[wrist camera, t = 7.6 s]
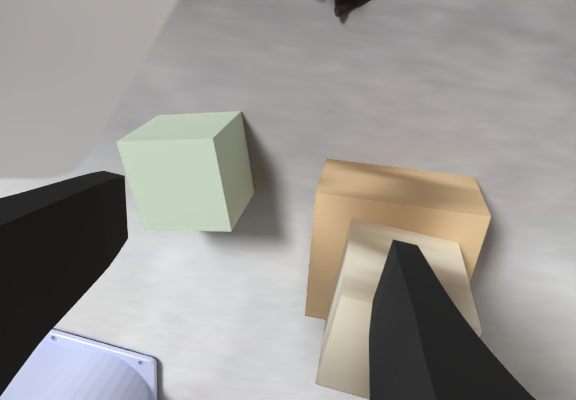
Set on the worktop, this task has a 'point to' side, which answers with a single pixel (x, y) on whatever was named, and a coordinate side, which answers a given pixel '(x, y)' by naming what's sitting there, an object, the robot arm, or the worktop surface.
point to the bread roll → (346, 5)
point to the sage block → (189, 171)
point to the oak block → (389, 215)
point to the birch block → (360, 292)
